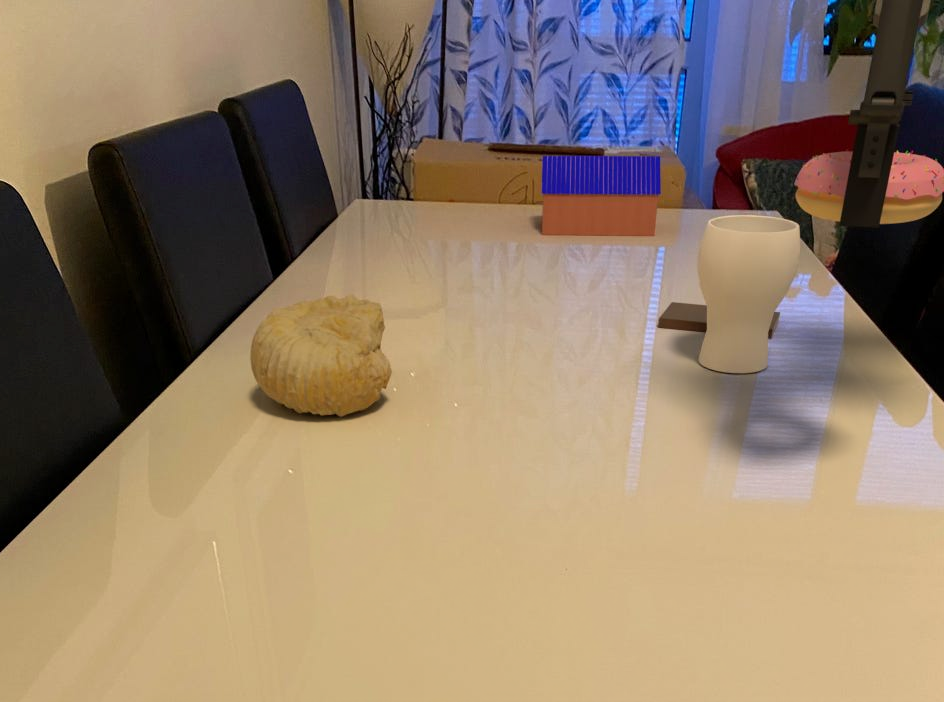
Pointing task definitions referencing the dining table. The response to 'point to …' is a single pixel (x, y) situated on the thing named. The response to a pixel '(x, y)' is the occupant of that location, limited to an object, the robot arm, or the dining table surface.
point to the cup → (744, 287)
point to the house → (600, 195)
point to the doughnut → (906, 196)
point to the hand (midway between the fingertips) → (862, 210)
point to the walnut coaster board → (695, 318)
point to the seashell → (322, 355)
